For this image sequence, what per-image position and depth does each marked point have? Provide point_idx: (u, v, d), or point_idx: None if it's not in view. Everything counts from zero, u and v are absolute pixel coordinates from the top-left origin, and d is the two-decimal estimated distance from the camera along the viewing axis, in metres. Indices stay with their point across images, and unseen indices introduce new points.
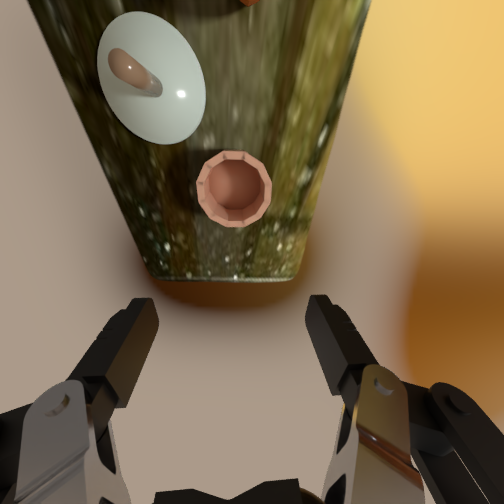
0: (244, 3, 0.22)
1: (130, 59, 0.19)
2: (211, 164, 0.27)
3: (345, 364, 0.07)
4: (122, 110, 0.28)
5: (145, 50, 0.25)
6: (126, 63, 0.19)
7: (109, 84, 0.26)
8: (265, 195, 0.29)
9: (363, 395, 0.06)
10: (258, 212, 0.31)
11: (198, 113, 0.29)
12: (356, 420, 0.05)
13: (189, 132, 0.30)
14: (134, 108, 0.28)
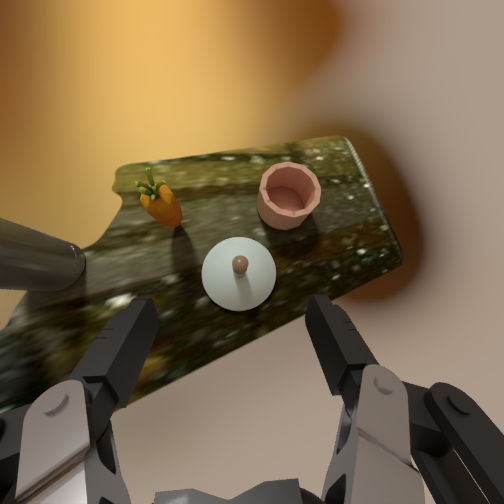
0: (181, 218, 0.36)
1: (235, 257, 0.28)
2: (277, 208, 0.34)
3: (345, 364, 0.07)
4: (261, 293, 0.36)
5: (221, 279, 0.36)
6: (238, 259, 0.28)
7: (248, 302, 0.35)
8: (283, 166, 0.36)
9: (363, 395, 0.06)
10: (298, 167, 0.36)
11: (244, 240, 0.38)
12: (356, 420, 0.05)
13: (259, 244, 0.38)
14: (257, 284, 0.36)
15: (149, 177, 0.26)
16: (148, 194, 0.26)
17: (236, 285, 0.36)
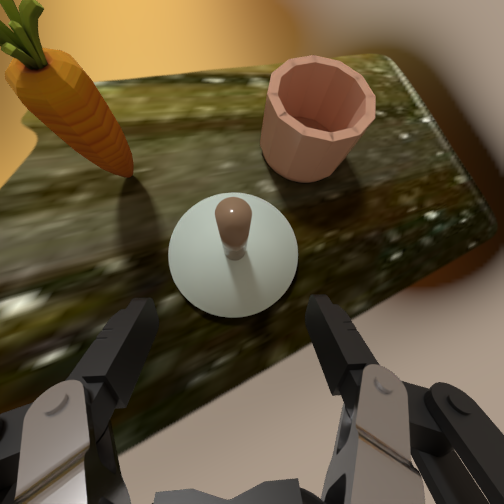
0: (130, 158, 0.20)
1: (222, 202, 0.13)
2: (300, 126, 0.18)
3: (345, 364, 0.07)
4: (275, 285, 0.20)
5: (203, 262, 0.20)
6: (229, 206, 0.12)
7: (252, 302, 0.20)
8: (307, 62, 0.20)
9: (363, 395, 0.06)
10: (333, 64, 0.21)
11: (242, 197, 0.23)
12: (356, 420, 0.05)
13: (267, 204, 0.23)
14: (267, 270, 0.21)
15: None
16: (0, 40, 0.10)
17: (230, 272, 0.20)
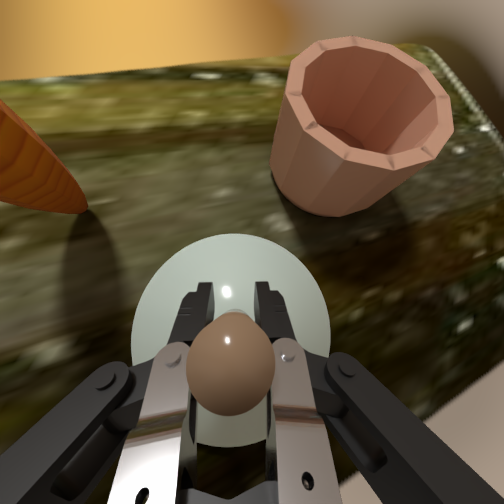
0: (75, 189, 0.13)
1: (205, 332, 0.05)
2: (340, 146, 0.11)
3: None
4: None
5: None
6: (221, 344, 0.05)
7: (263, 417, 0.12)
8: (344, 45, 0.14)
9: None
10: (382, 49, 0.14)
11: (245, 240, 0.15)
12: (272, 401, 0.05)
13: (282, 251, 0.15)
14: None
15: None
16: None
17: None
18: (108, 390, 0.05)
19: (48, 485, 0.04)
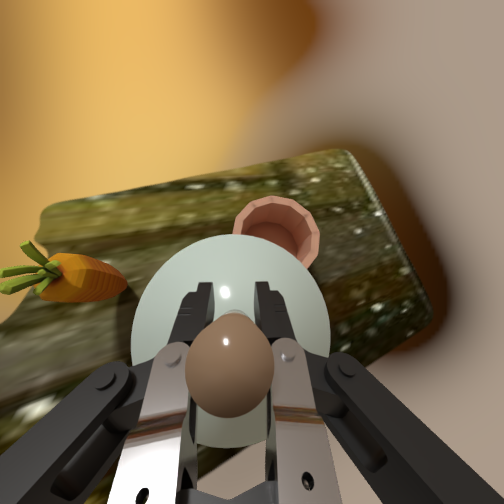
0: (124, 283, 0.25)
1: (204, 334, 0.05)
2: None
3: None
4: None
5: None
6: (219, 346, 0.05)
7: (263, 417, 0.12)
8: (265, 203, 0.25)
9: None
10: (287, 203, 0.26)
11: (244, 241, 0.15)
12: (272, 401, 0.05)
13: (282, 251, 0.15)
14: None
15: (31, 256, 0.15)
16: (32, 284, 0.15)
17: None
18: (108, 390, 0.05)
19: (48, 485, 0.04)
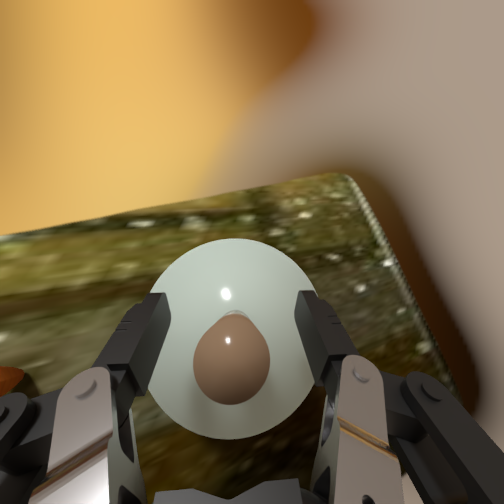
0: (5, 385, 0.17)
1: (209, 333, 0.06)
2: None
3: (326, 355, 0.07)
4: (294, 381, 0.14)
5: (188, 347, 0.14)
6: (223, 343, 0.06)
7: (261, 411, 0.13)
8: None
9: (340, 383, 0.06)
10: None
11: (244, 245, 0.16)
12: (337, 412, 0.05)
13: (280, 255, 0.16)
14: (281, 358, 0.14)
15: None
16: None
17: None
18: None
19: None
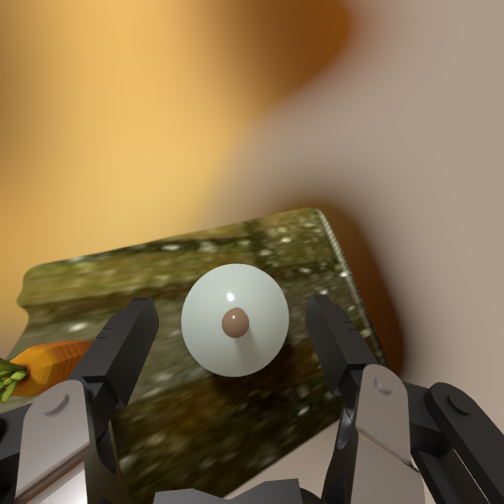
0: None
1: (227, 313, 0.17)
2: None
3: (345, 364, 0.07)
4: (269, 347, 0.24)
5: (210, 328, 0.25)
6: (232, 317, 0.17)
7: (251, 362, 0.24)
8: None
9: (363, 395, 0.06)
10: None
11: (241, 267, 0.27)
12: (356, 420, 0.05)
13: (263, 273, 0.27)
14: (262, 334, 0.25)
15: None
16: None
17: None
18: None
19: None
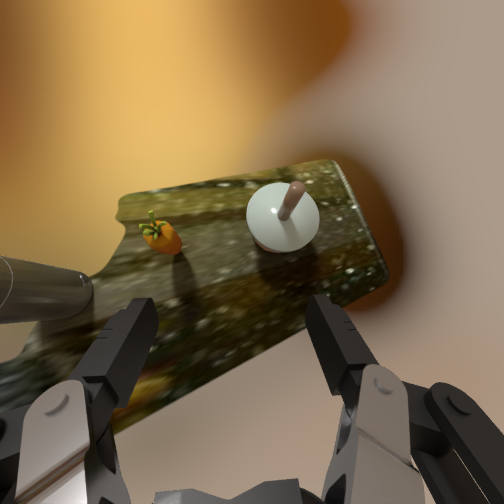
0: (181, 246, 0.39)
1: (292, 183, 0.28)
2: None
3: (345, 364, 0.07)
4: (307, 234, 0.36)
5: (266, 221, 0.36)
6: (295, 185, 0.28)
7: (295, 243, 0.35)
8: None
9: (363, 395, 0.06)
10: None
11: (285, 185, 0.38)
12: (356, 420, 0.05)
13: None
14: (302, 226, 0.36)
15: (152, 219, 0.29)
16: (151, 234, 0.29)
17: (281, 227, 0.36)
18: None
19: None
